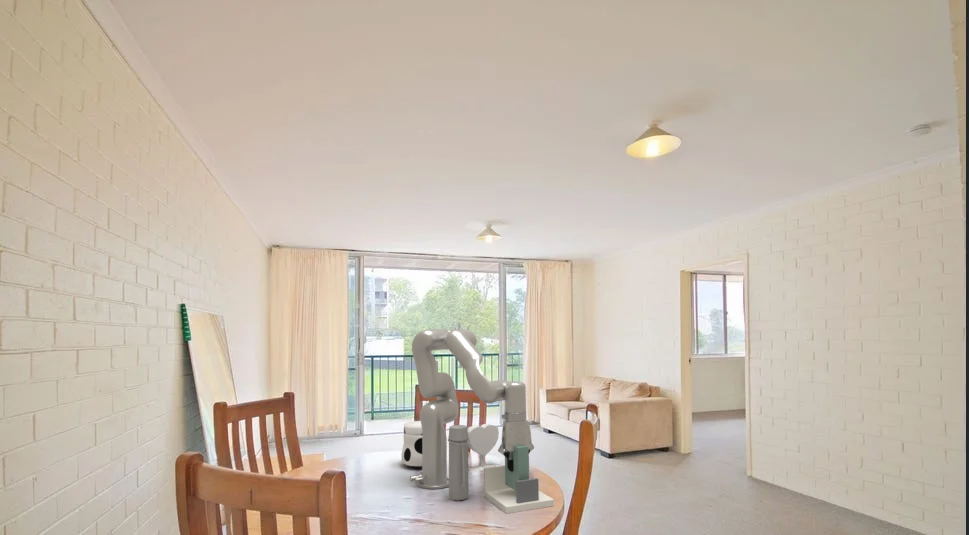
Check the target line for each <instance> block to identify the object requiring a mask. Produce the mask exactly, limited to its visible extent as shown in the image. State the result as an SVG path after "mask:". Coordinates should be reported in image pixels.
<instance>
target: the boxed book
mask: <svg viewBox="0 0 969 535" xmlns="http://www.w3.org/2000/svg"><path fill="white" fill-rule="evenodd" d="M504 451H505V452H506V451H507V450H506V449H504ZM512 460H513V472H511V471H509V470H508V468H507V458H506V457H505V456H504V465H505V484H506V485H507V486H509V487H510V488H512V489H513V490H515V491H516V481H519V480H526V479H529V478H530V453H529V449H528V446H525V445H523V446H515V451H513V455H512Z"/></svg>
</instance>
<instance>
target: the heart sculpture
mask: <svg viewBox="0 0 969 535" xmlns="http://www.w3.org/2000/svg"><path fill="white" fill-rule="evenodd" d="M467 430H468V439H469V440H470V442H469V440H468V442H469V443H468V449H470V450H471V451H472V452H474V453H477V454H478V455H479V466H478V465H477V466H474V467H470V468H468V469H469V470H472V471H471V472H474V471H475V472H478V471H484V468H486V467H494V466H496V465H494V464H486V456H487V454H488V453H490V451H492V450H493V449H494V448H495V447H496V444H497V442H498V440H499V433H500V431H499V427H498V426H496V425H494V424H490V423H483V424H481V425H476V424H475V425H472V426H469V427H467ZM469 470H468V471H469Z"/></svg>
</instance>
